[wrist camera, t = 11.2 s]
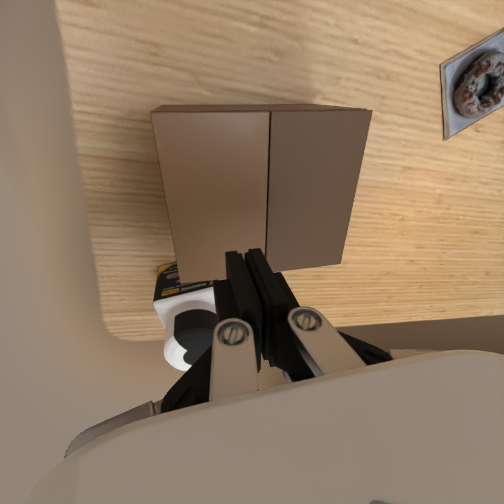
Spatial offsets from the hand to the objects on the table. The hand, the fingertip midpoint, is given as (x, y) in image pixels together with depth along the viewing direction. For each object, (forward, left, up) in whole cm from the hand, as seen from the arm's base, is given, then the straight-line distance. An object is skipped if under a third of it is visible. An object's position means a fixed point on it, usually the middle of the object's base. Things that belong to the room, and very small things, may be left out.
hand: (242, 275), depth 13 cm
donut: (+30, +8, -19) cm, 36 cm away
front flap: (0, 0, -9) cm, 9 cm away
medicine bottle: (-3, -14, -19) cm, 24 cm away
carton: (+3, 0, -19) cm, 19 cm away
